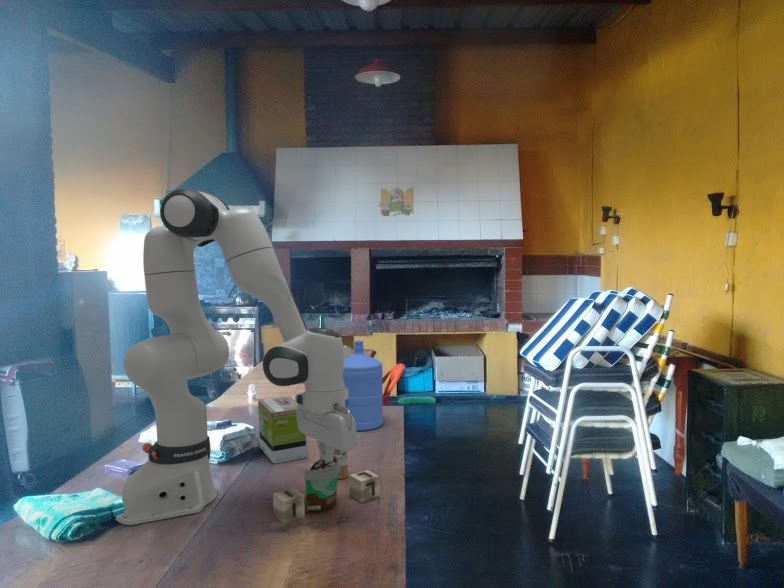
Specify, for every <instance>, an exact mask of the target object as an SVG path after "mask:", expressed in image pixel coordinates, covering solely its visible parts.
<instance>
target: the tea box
mask: <svg viewBox="0 0 784 588" xmlns="http://www.w3.org/2000/svg"><path fill="white" fill-rule="evenodd" d="M257 402H258V403H257V404H258V405H257V408H258V411H257V412H258V426H259V427H258V432H259V448H260V449H261V450H262V451H263V453H264V454H265V455H266V457H267V458H268V459H269V460H270V461H271V462H272V463H276V464H281V462H282V463H286V462H292V460H293V461H298V460H302V459H306V458H307V457H308V456H307V455H308V454H307V453H308V451H307V435H305V434H303V433H301V432H300V431H299V428H298V425H297V405H298V404H297V403H296V401H295V398H292V397H291V396H289V395H288V396H281V397H274V398H269V399H261V400H257Z"/></svg>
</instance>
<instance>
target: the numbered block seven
mask: <svg viewBox="0 0 784 588" xmlns="http://www.w3.org/2000/svg"><path fill="white" fill-rule="evenodd" d="M349 495H350V497H352V498H353V499H356V500H357V501H359V502H360V503H363V501H364V502H366V501H370V500H373V499H377V498H379V497H380V476H379V475H378V474H376V473H374V472H372V471H371V470H368V469H366V470H362V471H359V472H354V473H352V474H349Z"/></svg>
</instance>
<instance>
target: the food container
mask: <svg viewBox="0 0 784 588" xmlns="http://www.w3.org/2000/svg"><path fill="white" fill-rule="evenodd" d="M340 470H341V467H340V463H339V461H338V458H337V457H336V456H334V455H333V461H332V462H329V463H327V462H326V461H324V460H322V459H320V458H318V460H317V461H315V462H314V463H313V465H312V466H311V468H310V469H308V470H307V469H305V470H304V476H303V477H304V481H305V482H304V483H305V495H306V496H305V497H306V498H305V499H306V512H307V513H308V514H316V513H317V514H318V513H323V512H327V511H329V510H332V509H333V508H335V507H336V505H337V495H338V494H337V491H338V489H337V488H338V479H337V477H338V473H339V472H340Z"/></svg>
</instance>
